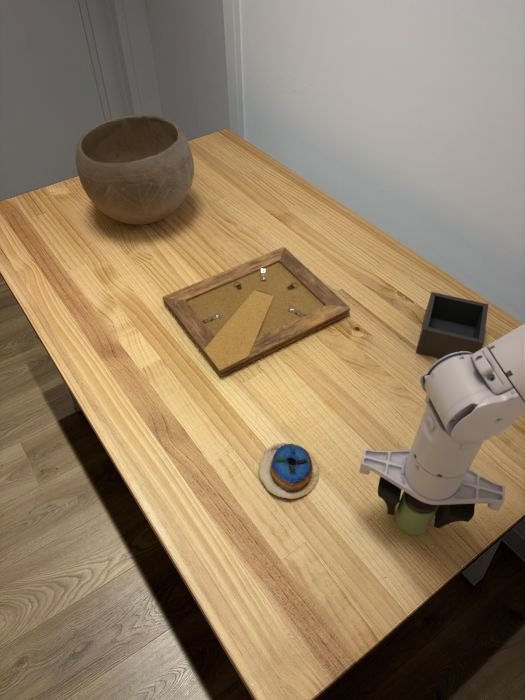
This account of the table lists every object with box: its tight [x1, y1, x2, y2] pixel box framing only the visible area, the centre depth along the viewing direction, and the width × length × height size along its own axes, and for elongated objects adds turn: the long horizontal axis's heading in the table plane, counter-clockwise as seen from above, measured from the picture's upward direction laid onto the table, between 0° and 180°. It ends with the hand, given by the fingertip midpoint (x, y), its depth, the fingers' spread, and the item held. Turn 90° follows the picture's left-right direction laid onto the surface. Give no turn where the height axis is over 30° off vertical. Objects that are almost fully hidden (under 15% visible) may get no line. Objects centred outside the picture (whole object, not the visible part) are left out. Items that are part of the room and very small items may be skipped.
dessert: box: [258, 442, 320, 500], centre depth 69 cm, size 8×7×6 cm
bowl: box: [75, 114, 195, 226], centre depth 102 cm, size 21×21×15 cm
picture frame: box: [162, 246, 351, 378], centre depth 88 cm, size 19×2×24 cm
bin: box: [415, 291, 489, 359], centre depth 82 cm, size 8×8×5 cm
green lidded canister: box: [394, 491, 439, 536], centre depth 63 cm, size 4×4×6 cm
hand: (414, 513), depth 64 cm, fingers open, 5 cm apart
